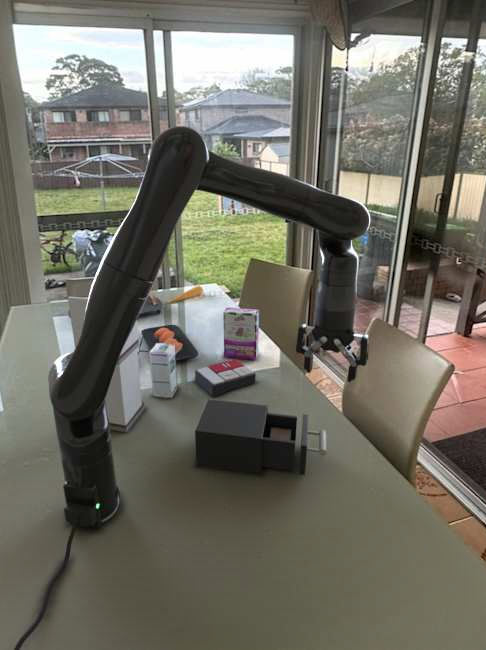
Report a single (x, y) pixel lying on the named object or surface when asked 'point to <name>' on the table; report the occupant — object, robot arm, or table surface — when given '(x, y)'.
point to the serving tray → (149, 305)
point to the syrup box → (163, 370)
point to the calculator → (224, 377)
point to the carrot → (189, 294)
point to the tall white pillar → (116, 373)
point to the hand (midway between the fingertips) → (329, 375)
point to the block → (280, 433)
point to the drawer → (288, 443)
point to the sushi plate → (169, 340)
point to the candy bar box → (241, 333)
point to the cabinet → (231, 436)
